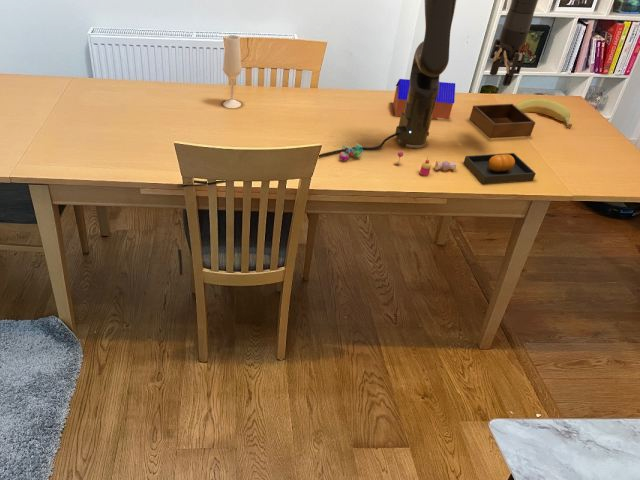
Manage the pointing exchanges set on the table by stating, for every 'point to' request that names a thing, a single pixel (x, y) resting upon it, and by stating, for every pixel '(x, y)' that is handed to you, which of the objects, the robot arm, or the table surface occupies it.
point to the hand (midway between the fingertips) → (499, 79)
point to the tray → (487, 176)
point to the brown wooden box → (502, 120)
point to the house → (442, 101)
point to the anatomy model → (350, 152)
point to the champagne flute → (232, 65)
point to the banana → (546, 109)
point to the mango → (501, 163)
